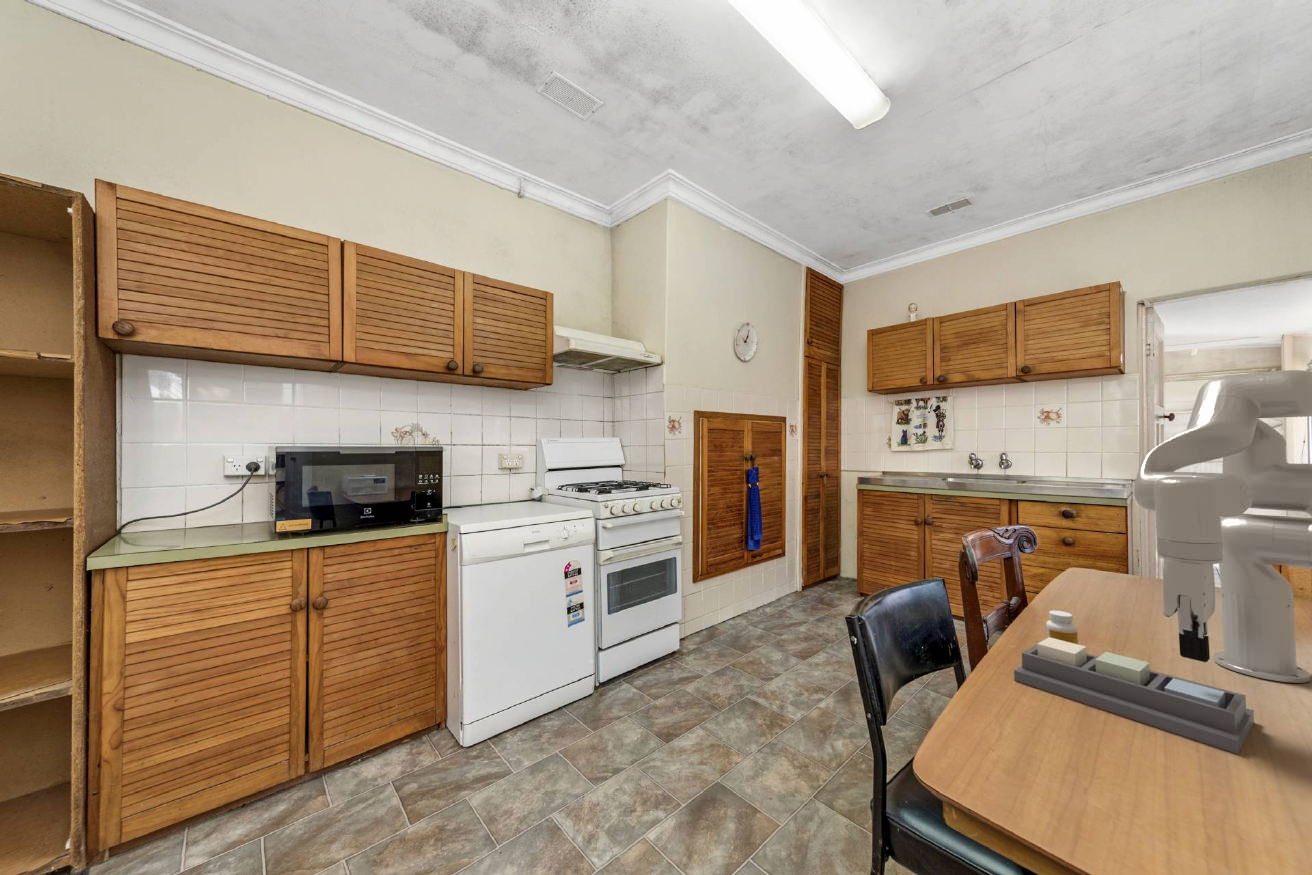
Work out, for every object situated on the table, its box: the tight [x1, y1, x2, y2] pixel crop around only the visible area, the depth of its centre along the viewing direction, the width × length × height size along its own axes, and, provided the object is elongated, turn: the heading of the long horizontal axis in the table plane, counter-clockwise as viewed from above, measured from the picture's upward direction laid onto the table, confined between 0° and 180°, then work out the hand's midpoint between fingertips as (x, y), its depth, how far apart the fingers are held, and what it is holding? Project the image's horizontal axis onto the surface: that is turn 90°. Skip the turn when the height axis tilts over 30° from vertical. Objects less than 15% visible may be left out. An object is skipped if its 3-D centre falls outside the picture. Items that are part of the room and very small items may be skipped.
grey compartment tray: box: [1013, 644, 1255, 755], centre depth 90 cm, size 15×29×5 cm, turn 33°
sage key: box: [1095, 651, 1151, 686], centre depth 90 cm, size 6×6×3 cm
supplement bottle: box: [1045, 610, 1079, 645], centre depth 108 cm, size 5×5×10 cm
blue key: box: [1164, 678, 1226, 709], centre depth 83 cm, size 6×6×3 cm
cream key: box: [1036, 637, 1087, 667], centre depth 98 cm, size 6×6×3 cm
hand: (1194, 657), depth 83 cm, fingers closed
